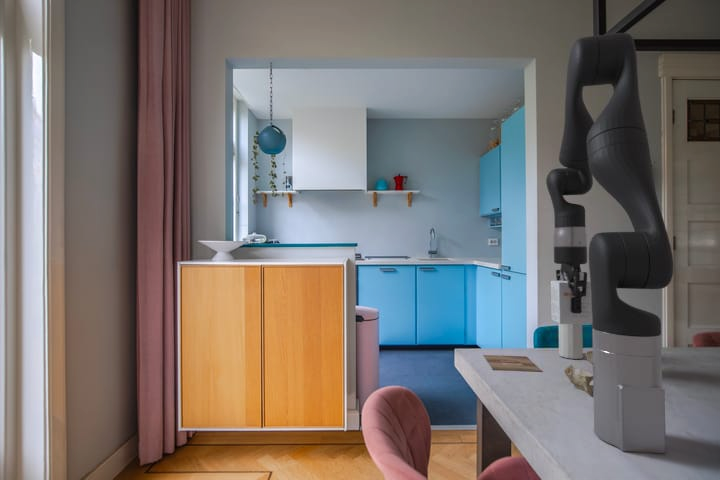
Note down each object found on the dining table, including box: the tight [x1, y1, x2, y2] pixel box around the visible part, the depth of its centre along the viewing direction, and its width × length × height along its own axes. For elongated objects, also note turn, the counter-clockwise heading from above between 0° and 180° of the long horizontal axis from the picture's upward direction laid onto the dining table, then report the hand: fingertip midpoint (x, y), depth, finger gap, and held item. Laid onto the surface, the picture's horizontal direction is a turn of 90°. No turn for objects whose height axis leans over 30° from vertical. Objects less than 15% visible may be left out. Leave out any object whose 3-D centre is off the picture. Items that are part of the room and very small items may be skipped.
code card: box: [482, 354, 543, 373], centre depth 106 cm, size 14×12×1 cm
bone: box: [564, 349, 593, 396], centre depth 85 cm, size 9×6×10 cm
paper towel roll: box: [558, 323, 584, 360], centre depth 112 cm, size 7×6×21 cm
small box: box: [550, 280, 592, 325], centre depth 100 cm, size 8×6×10 cm
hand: (571, 311), depth 100 cm, fingers closed on small box, 5 cm apart
